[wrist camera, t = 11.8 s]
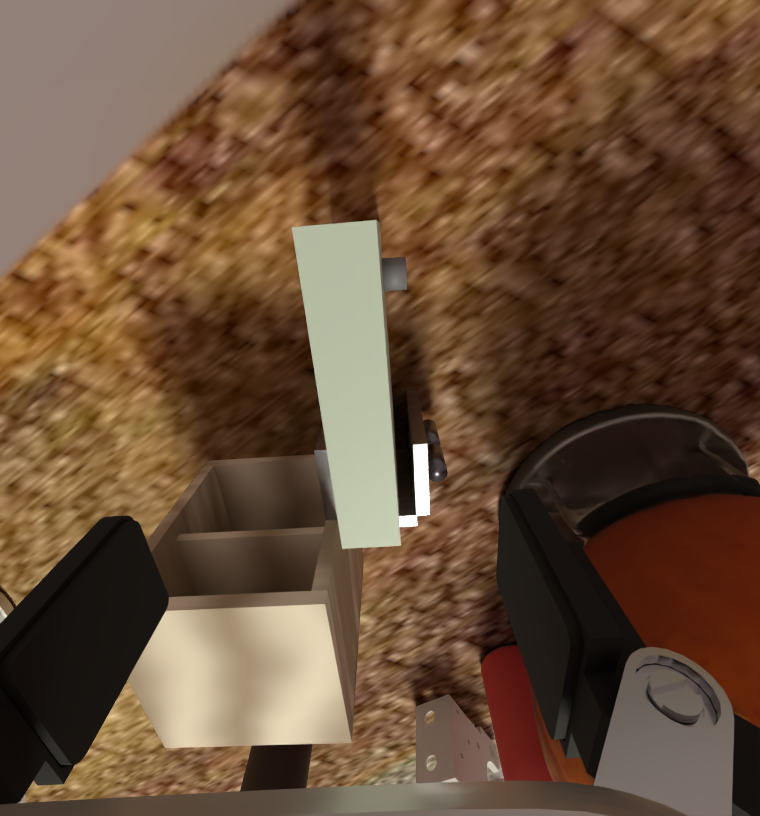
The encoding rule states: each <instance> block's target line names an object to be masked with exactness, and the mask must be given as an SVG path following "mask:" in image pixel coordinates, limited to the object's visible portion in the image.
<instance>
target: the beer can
mask: <svg viewBox="0 0 760 816" xmlns="http://www.w3.org/2000/svg"><path fill="white" fill-rule="evenodd" d="M481 673H482V678H483V682H484V687H485V692H486V696H487V701H488V706H489V710H490V715H491V720H492V724H493V729H494V734H495V738H496V743H497V748H498V753H499V757H500V762H501V767H502V771H503V776H504V780H505V781H551V782H553V780H552V777H551V775H550V773H549V770H548V768H547V765H546V762H545V759H544V755H543V752H542V747H541V743H540V739H539V735H538V731H537V726H536V721H535V715H534V709H533V704H532V699H531V693H530V679H529V676H528V673H527V670H526V667H525V665H524V662H523V659H522V656H521V653H520V650H519V647H518V645H505V646H501V647H499V648H496V649H494V650H492V651H491V652H490V653H489V654H488V655H486V657H485V659H484V660H483V662H482V666H481Z"/></svg>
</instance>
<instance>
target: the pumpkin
mask: <svg viewBox="0 0 760 816" xmlns="http://www.w3.org/2000/svg"><path fill="white" fill-rule="evenodd" d="M526 488H532V489H534V490H535V492H536V493H537V495H538V497H539V498H540V500H541V501H542V503H543V505H544V506H545V508H546V510H547V511H548V513H549V514H550V516H551V518H552V519H553V521H554V523H555V524H556V526H557V528H558V529H559V531H560V532H561V534H562V536H563V537H564V539H565V541H567V540H575V541H576V542H578V543H579V545H580V546H581V547H582V548H583V550H584V551H585V553H586V555H587V556H588V558H589V559H590V561H591V562H592V564H593V565H594V567H595V568H596V570H597V571H598V573H599V574H600V576H601V578H602V579H603V581H604V582H605V584H606V585H607V587H608V588H609V590H610V591H611V593H612V594H613V596H614V598H615V599H616V601H617V602H618V604H619V605H620V607H621V608H622V610H623V611H624V613H625V614H626V616H627V617H628V619H629V621H630V622H631V624H632V625H633V627H634V628H635V630H636V631H637V633H638V634H639V636H640V637H641V639H642V641H643V642H644V644H645V645H646V647H647V648H648V647H656V648H663V649H668V650H670V651H673V652H676V653H678V654H681V655H683V656H685V657H686V658H688V659H690V660H692V661H693V662H695V663H697V664H698V665H699V666H701V667H702V668H703V669H704V670H705V671H707V672H708V673H709V674H710V675H711V676H712V677H713V678H714V679H715V680H716V681H717V683H718V684H719V685H720V686H721V687H722V689H723V690H724V691H725V693H726V695H727V697H728V699H729V701H730V703H731V705H732V709H733V713H735V714H736V715H738V716H740V717H742V718H743V719H745V720H747V721H749V722H750V723H752V724H754V725H756V726H757V727H759V728H760V484H759V483H758V481H757V480H756V479H754V478H751V477H750V475H749V470H748V463H747V461H746V459H745V458H744V457H743V455H742V453H741V451H740V449H739V448H738V446H737V445H736V443H735V442H734V441H733V440H732V439H731V438H730V437H729V436H728V435H727V434H726V433H725V432H724V431H723V430H722V429H721V428H720V427H719V426H718V425H717V424H716V423H715V422H714V421H712V420H710V419H708V418H705V417H702V416H700V415H698V414H694V413H692V412H690V411H687V410H683V409H677V408H673V407H670V406H661V405H654V404H653V405H652V404H649V405H634V404H630V405H628V406H626V407H622V408H618V409H613V410H607V411H604V412H599V413H595V414H593V415H591V416H589V417H587V418H584V419H581V420H577V421H576V422H574V423H572V424H569V425H567V426H566V427H564V428H561V429H560V430H558V431H557V432H556V433H555V434H554V435H553V436H551V437H550V438H549V439H548V440H546V441H544V442H543V443H542V444H541V445H540V446H538V447H537V448H536V449H535V450H534V451H533V452H532V453H531V454H530V455H529V456H528V458H527V459H526V460H525V461H524V462H523V464H522V465H521V466H520V468H519V469H518V470H517V472H516V474H515V475H514V477H513V479H512V481H511V482H510V484H509V486H508V488H507V490H506V494H505V496H508V491H509V490H511V489H526ZM499 521H500V516H499ZM530 693H531V699H532V704H533V709H534V715H535V721H536V726H537V731H538V735H539V739H540V743H541V747H542V752H543V755H544V759H545V762H546V765H547V768H548V770H549V773H550V775H551V777H552V780H553V782H572V783H579V784H586V785H593V784H594V780H595V779H594V778H593V777H592V776H590V775H589V774H588V773H587V772H586V770H585V767H584V765H583V762H582V759H581V758H566V757H565V755H564V752H563V749H562V746H561V743H560V741H559V739H551V737H550V736H549V734H548V731H547V729H546V726H545V723H544V720H543V717H542V714H541V711H540V708H539V706H538V703H537V700H536V697H535V694H534V691H533V688H532V685H531V682H530Z"/></svg>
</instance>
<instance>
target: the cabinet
mask: <svg viewBox="0 0 760 816" xmlns="http://www.w3.org/2000/svg"><path fill="white" fill-rule="evenodd" d="M147 543H148V546H149V548H150V551H151V553H152V556H153V558H154V561H155V563H156V566H157V568H158V570H159V573H160V575H161V578H162V580H163V583H164V585H165V588H166V590H167V592H168V596H169V603H168V607H167V610H166V612H165V613H164V615H163V617H162V619H161V621H160V622H159V624H158V626H157V628H156V630H155V631H154V633H153V635H152V637H151V639H150V640H149V642H148V644H147V646H146V647H145V649H144V651H143V653H142V655H141V656H140V658H139V660H138V662H137V664H136V665H135V667H134V669H133V671H132V673H131V674H130V676H129V678H128V681H129V683H130V685H131V687H132V689H133V690H134V692H135V694H136V696H137V698H138V699H139V701H140V703H141V705H142V707H143V708H144V710H145V712H146V714H147V716H148V718H149V719H150V721H151V723H152V725H153V727H154V728H155V730H156V732H157V734H158V736H159V737H160V739H161V741H162V743H163V745H164V747H165V748H179V747H216V746H253V745H289V744H326V743H352V731H353V716H354V700H355V685H356V670H357V655H358V639H359V624H360V609H361V594H362V579H363V556H362V548H348V549H342V544H341V538H340V532H339V525H338V520H326V519H325V513H324V507H323V501H322V495H321V489H320V483H319V478H318V472H317V466H316V460H315V454H311V455H295V456H278V457H261V458H244V459H228V460H211V461H207V462H206V464H205V465H204V466H203V468H202V469H201V470H200V472H199V473H198V474H197V476H196V477H195V478H194V480H193V481H192V482H191V483H190V485H189V486H188V487H187V489H186V490H185V491H184V493H183V494H182V495H181V497H180V498H179V499H178V501H177V502H176V503H175V505H174V506H173V507H172V509H171V510H170V511H169V512H168V514H167V515H166V516H165V518H164V519H163V520H162V522H161V523H160V524H159V526H158V527H157V528H156V530H155V531H154V532H153V534H152V535H151V536H150V538H149V539H148V540H147Z"/></svg>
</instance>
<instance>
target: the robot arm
mask: <svg viewBox="0 0 760 816" xmlns="http://www.w3.org/2000/svg"><path fill="white" fill-rule="evenodd" d="M496 576H497V584H498V588H499V591H500V594H501V597H502V600H503V603H504V606H505V609H506V612H507V615H508V618H509V621H510V624H511V627H512V629H513V632H514V635H515V638H516V641H517V644H518V647H519V650H520V653H521V656H522V659H523V662H524V665H525V667H526V670H527V673H528V676H529V679H530V682H531V685H532V688H533V691H534V694H535V697H536V700H537V703H538V706H539V708H540V711H541V714H542V717H543V720H544V723H545V726H546V729H547V731H548V734H549V736H550V737H551V739H559V741H560V743H561V746H562V749H563V752H564V755H565V757H566V758H581V759H582V762H583V765H584V767H585V770H586V772H587V773H588V774H589V775H590V776H592V777H593V778H594V779H595V780H594V784H593V785H586V784H579V783H572V782H551V781H480V782H436V783H413V784H390V785H368V786H345V787H322V788H300V789H279V790H259V791H239V792H219V793H199V794H179V795H160V796H140V797H122V798H105V799H87V800H69V801H51V802H33V803H26V791H27V790H28V788H29V787H30V785H31V783H32V782H33V780H34V782H35V783H36V784H37V785H55V784H64V783H65V781H66V779H67V778H68V776H69V774H70V772H71V771H72V769H73V767H74V765H75V764H77V763H79V762H80V761H81V760H82V759H83V758H84V756H85V755H86V753H87V752H88V750H89V748H90V746H91V744H92V743H93V741H94V739H95V737H96V735H97V734H98V732H99V730H100V728H101V726H102V725H103V723H104V721H105V719H106V717H107V716H108V714H109V712H110V710H111V708H112V707H113V705H114V703H115V701H116V700H117V698H118V696H119V694H120V692H121V691H122V689H123V687H124V685H125V683H126V682H127V680H128V678H129V676H130V674H131V673H132V671H133V669H134V667H135V665H136V664H137V662H138V660H139V658H140V656H141V655H142V653H143V651H144V649H145V647H146V646H147V644H148V642H149V640H150V639H151V637H152V635H153V633H154V631H155V630H156V628H157V626H158V624H159V622H160V621H161V619H162V617H163V615H164V613H165V612H166V610H167V607H168V603H169V596H168V592H167V590H166V588H165V585H164V583H163V580H162V578H161V575H160V573H159V570H158V568H157V566H156V563H155V561H154V558H153V556H152V553H151V551H150V548H149V546H148V543H147V541H146V539H145V536H144V534H143V531H142V529H141V526H140V524H139V523H138V522H137V521H134V520H133V518H132V517H130V516H112V517H104V518H102V519H101V520H99V521H98V522H97V523H96V524H95V525H94V527H93V528H92V529H91V530H90V531H89V532H88V533H87V534H86V535H85V536H84V537H83V538H82V539H81V540H80V541H79V542H78V543H77V544H76V545H75V546H74V547H73V548H72V549H71V550H70V551H69V552H68V553H67V555H66V556H65V557H64V558H63V559H62V560H61V561H60V562H59V563H58V564H57V565H56V566H55V567H54V568H53V569H52V570H51V571H50V572H49V573H48V574H47V575H46V576H45V577H44V578H43V579H42V580H41V582H40V583H39V584H38V585H37V586H36V587H35V588H34V589H33V590H32V591H31V592H30V593H29V594H28V595H27V596H26V597H25V598H24V599H23V600H22V601H21V602H20V603H19V604H18V605H17V606H16V607H15V608H13V606H12V604H11V603H10V601H9V600H8V599H7V598H6V597H5V596H4V594H3V593H2V592H0V816H760V728H759V727H757V726H756V725H754V724H752V723H750V722H749V721H747V720H745V719H743V718H742V717H740V716H738V715H736V714H735V713H733V709H732V705H731V703H730V701H729V699H728V697H727V695H726V693H725V691H724V690H723V689H722V687H721V686H720V685H719V684H718V683H717V681H716V680H715V679H714V678H713V677H712V676H711V675H710V674H709V673H708V672H707V671H705V670H704V669H703V668H702V667H701V666H699V665H698V664H697V663H695V662H693V661H692V660H690V659H688V658H686V657H685V656H683V655H681V654H678V653H676V652H673V651H670V650H668V649H663V648H656V647H648V648H647V647H646V645H645V644H644V642H643V641H642V639H641V637H640V636H639V634H638V633H637V631H636V630H635V628H634V627H633V625H632V624H631V622H630V621H629V619H628V617H627V616H626V614H625V613H624V611H623V610H622V608H621V607H620V605H619V604H618V602H617V601H616V599H615V598H614V596H613V594H612V593H611V591H610V590H609V588H608V587H607V585H606V584H605V582H604V581H603V579H602V578H601V576H600V574H599V573H598V571H597V570H596V568H595V567H594V565H593V564H592V562H591V561H590V559H589V558H588V556H587V555H586V553H585V551H584V550H583V548H582V547H581V546H580V545H579V543H578V542H576V541H575V540H567V541H565V539H564V537H563V536H562V534H561V532H560V531H559V529H558V528H557V526H556V524H555V523H554V521H553V519H552V518H551V516H550V514H549V513H548V511H547V510H546V508H545V506H544V505H543V503H542V501H541V500H540V498H539V497H538V495H537V493H536V492H535V490H534V489H532V488H526V489H511V490H509V491H508V496H502V497H501V504H500V521H499V538H498V556H497V573H496Z"/></svg>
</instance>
